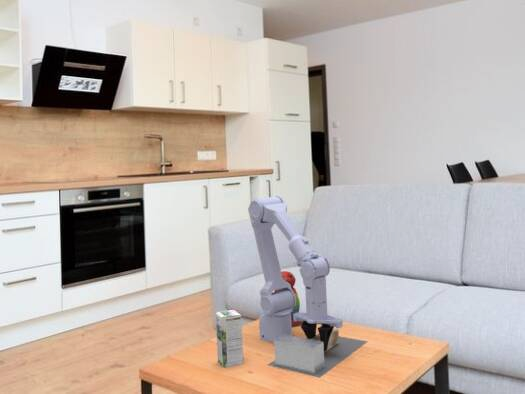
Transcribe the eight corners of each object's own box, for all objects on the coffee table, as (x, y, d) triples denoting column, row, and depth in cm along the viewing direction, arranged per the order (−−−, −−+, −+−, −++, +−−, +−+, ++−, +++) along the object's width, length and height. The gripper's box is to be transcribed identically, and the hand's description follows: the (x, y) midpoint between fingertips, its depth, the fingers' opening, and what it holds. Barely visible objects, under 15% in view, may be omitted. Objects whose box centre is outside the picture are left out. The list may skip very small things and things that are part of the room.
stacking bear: (309, 322, 170) (306, 270, 169) (290, 330, 163) (287, 276, 162) (285, 316, 178) (282, 266, 177) (265, 324, 170) (262, 272, 169)
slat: (306, 364, 132) (306, 349, 131) (297, 362, 133) (296, 347, 133) (338, 342, 146) (338, 329, 146) (329, 340, 148) (329, 327, 147)
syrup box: (217, 364, 139) (214, 312, 138) (237, 359, 141) (234, 308, 140) (224, 371, 133) (220, 317, 132) (245, 366, 136) (241, 313, 135)
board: (267, 368, 134) (267, 364, 134) (319, 336, 156) (319, 332, 156) (319, 381, 124) (319, 377, 124) (367, 344, 147) (367, 341, 146)
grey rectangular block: (275, 365, 133) (274, 340, 133) (285, 358, 137) (284, 334, 137) (314, 374, 126) (313, 348, 126) (324, 367, 130) (323, 341, 130)
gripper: (286, 301, 140) (288, 349, 141) (332, 308, 131) (335, 359, 132) (299, 295, 145) (302, 341, 146) (345, 301, 137) (347, 350, 138)
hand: (318, 349), depth 140 cm, fingers closed on slat, 3 cm apart
